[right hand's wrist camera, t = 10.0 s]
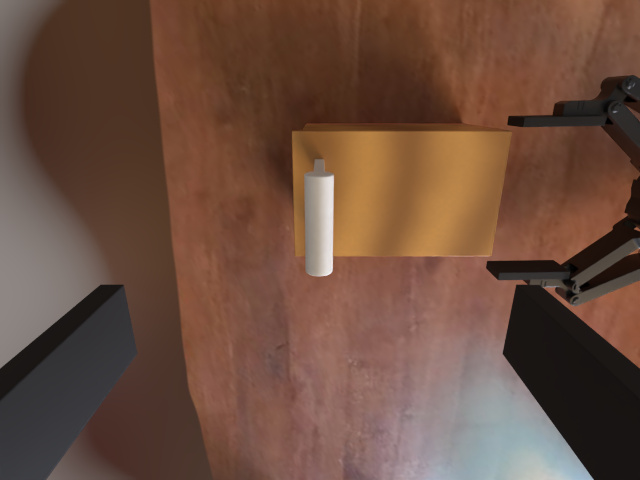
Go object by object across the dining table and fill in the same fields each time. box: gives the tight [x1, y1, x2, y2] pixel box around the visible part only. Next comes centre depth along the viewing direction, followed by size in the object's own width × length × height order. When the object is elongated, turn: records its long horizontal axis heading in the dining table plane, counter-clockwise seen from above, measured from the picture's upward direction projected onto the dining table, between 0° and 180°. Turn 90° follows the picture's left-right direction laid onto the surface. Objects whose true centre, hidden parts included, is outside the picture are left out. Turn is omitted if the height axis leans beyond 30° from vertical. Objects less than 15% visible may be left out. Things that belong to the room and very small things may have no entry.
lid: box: [292, 130, 512, 276], centre depth 26 cm, size 16×10×9 cm, turn 90°
